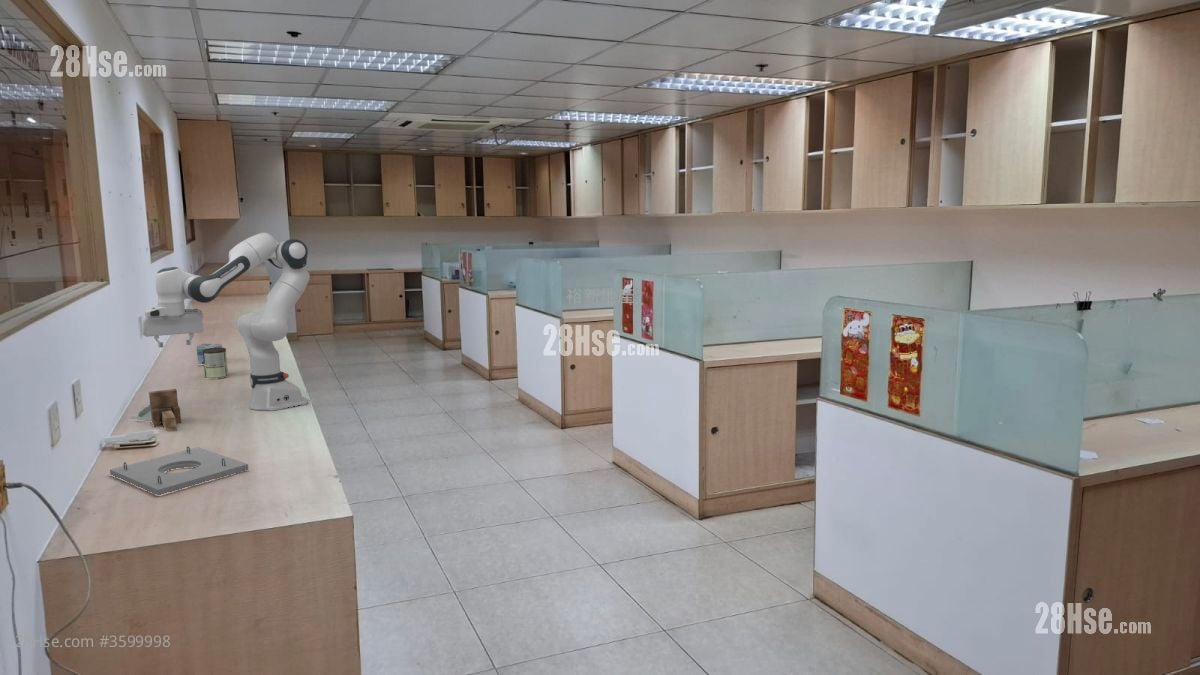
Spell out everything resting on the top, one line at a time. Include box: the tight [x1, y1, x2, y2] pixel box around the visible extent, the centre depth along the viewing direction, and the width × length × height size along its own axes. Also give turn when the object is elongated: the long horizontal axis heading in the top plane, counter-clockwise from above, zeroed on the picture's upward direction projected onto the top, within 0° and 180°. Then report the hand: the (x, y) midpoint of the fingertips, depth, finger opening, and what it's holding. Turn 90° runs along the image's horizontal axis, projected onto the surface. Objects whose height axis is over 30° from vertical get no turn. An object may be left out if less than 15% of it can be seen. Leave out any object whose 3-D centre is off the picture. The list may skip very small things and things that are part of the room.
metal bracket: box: [129, 404, 152, 421], centre depth 294 cm, size 14×6×15 cm
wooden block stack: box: [148, 388, 182, 427], centre depth 285 cm, size 9×8×12 cm
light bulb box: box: [196, 343, 223, 365], centre depth 396 cm, size 11×7×11 cm, turn 81°
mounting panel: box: [109, 446, 249, 495], centre depth 230 cm, size 27×5×30 cm
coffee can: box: [202, 347, 229, 380], centre depth 364 cm, size 10×10×14 cm
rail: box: [161, 408, 177, 432], centre depth 280 cm, size 3×13×6 cm, turn 36°
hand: (175, 346), depth 286 cm, fingers open, 8 cm apart
